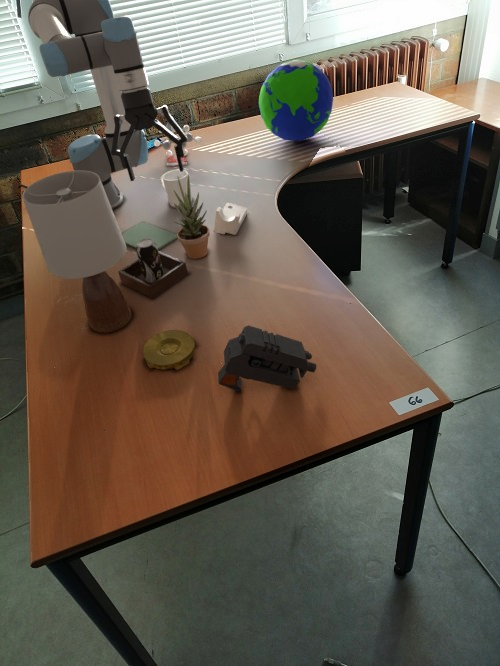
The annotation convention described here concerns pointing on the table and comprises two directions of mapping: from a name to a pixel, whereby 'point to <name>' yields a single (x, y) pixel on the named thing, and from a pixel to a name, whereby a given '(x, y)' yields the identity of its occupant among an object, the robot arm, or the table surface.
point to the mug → (174, 185)
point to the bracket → (229, 218)
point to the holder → (160, 284)
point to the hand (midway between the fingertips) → (157, 175)
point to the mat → (147, 235)
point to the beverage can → (149, 260)
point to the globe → (296, 100)
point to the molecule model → (168, 143)
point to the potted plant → (192, 225)
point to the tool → (264, 359)
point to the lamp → (81, 241)
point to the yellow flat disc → (169, 350)
